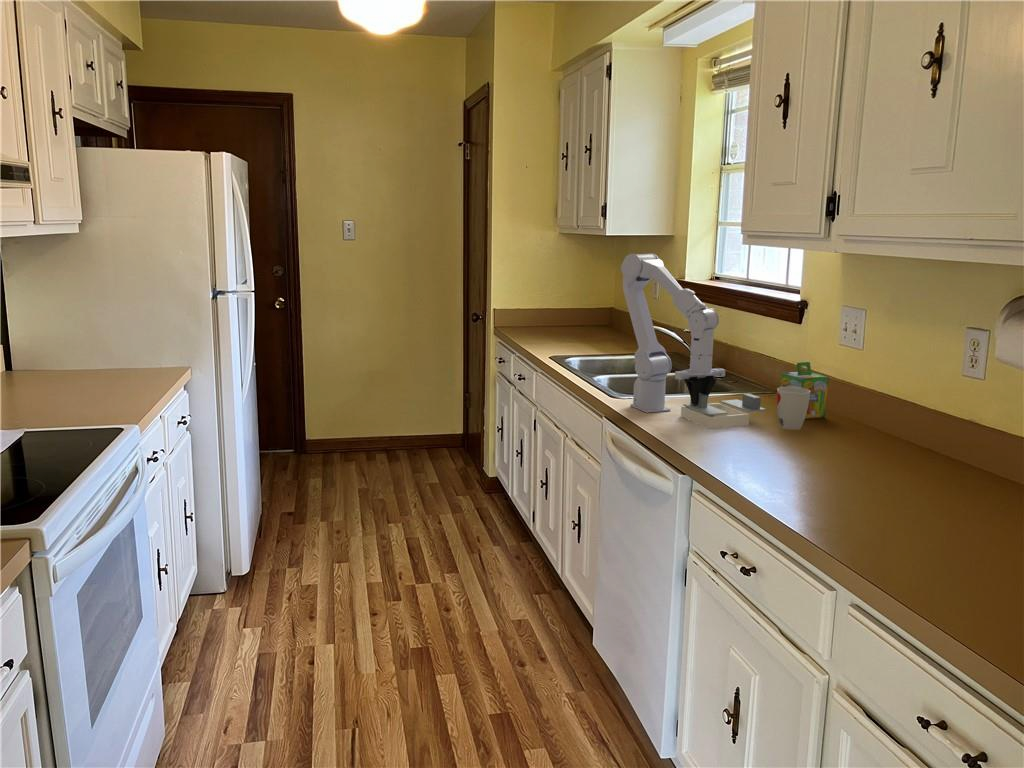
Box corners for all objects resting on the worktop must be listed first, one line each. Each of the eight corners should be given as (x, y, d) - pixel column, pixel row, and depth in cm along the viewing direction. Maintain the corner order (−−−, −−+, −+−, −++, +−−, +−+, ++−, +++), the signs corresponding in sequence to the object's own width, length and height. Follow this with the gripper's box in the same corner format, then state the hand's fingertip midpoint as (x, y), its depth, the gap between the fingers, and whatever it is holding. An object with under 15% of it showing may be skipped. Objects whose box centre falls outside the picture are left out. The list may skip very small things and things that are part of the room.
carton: (680, 416, 221) (681, 406, 220) (717, 413, 225) (718, 402, 224) (710, 428, 208) (711, 417, 207) (749, 425, 212) (749, 414, 211)
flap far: (720, 402, 224) (721, 389, 223) (737, 400, 226) (738, 388, 225) (748, 412, 212) (749, 398, 211) (765, 410, 214) (766, 397, 213)
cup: (779, 422, 216) (782, 385, 214) (810, 426, 211) (814, 389, 209) (770, 428, 209) (773, 390, 207) (802, 432, 205) (805, 394, 203)
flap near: (683, 405, 219) (683, 392, 219) (700, 403, 221) (701, 390, 221) (709, 415, 208) (710, 401, 207) (727, 413, 210) (728, 400, 209)
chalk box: (800, 420, 218) (804, 366, 215) (777, 413, 226) (781, 361, 223) (826, 417, 221) (831, 364, 218) (803, 410, 229) (807, 359, 226)
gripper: (686, 358, 208) (683, 409, 211) (733, 355, 213) (730, 405, 216) (671, 353, 215) (669, 403, 217) (717, 351, 220) (714, 399, 223)
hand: (698, 404), depth 217 cm, fingers closed on flap near, 2 cm apart
